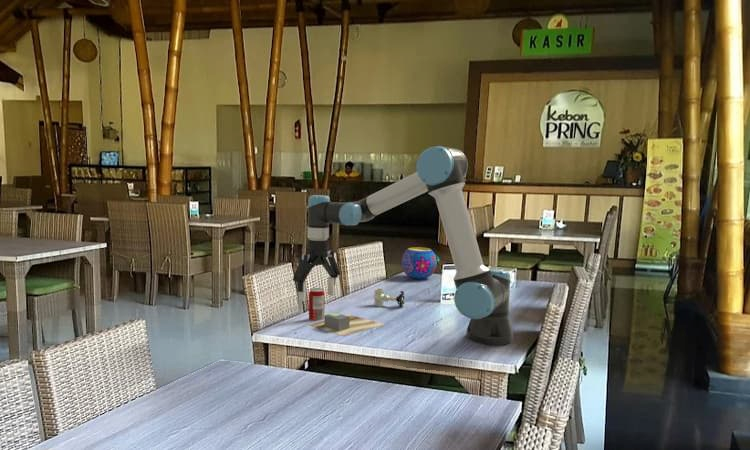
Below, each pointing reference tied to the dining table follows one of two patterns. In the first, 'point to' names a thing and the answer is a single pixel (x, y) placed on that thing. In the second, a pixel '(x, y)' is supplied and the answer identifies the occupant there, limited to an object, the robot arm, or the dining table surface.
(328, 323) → the block
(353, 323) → the panel
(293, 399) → the dining table surface
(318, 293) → the soda can
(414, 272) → the ceramic pot
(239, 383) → the dining table surface
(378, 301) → the valve
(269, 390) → the dining table surface
